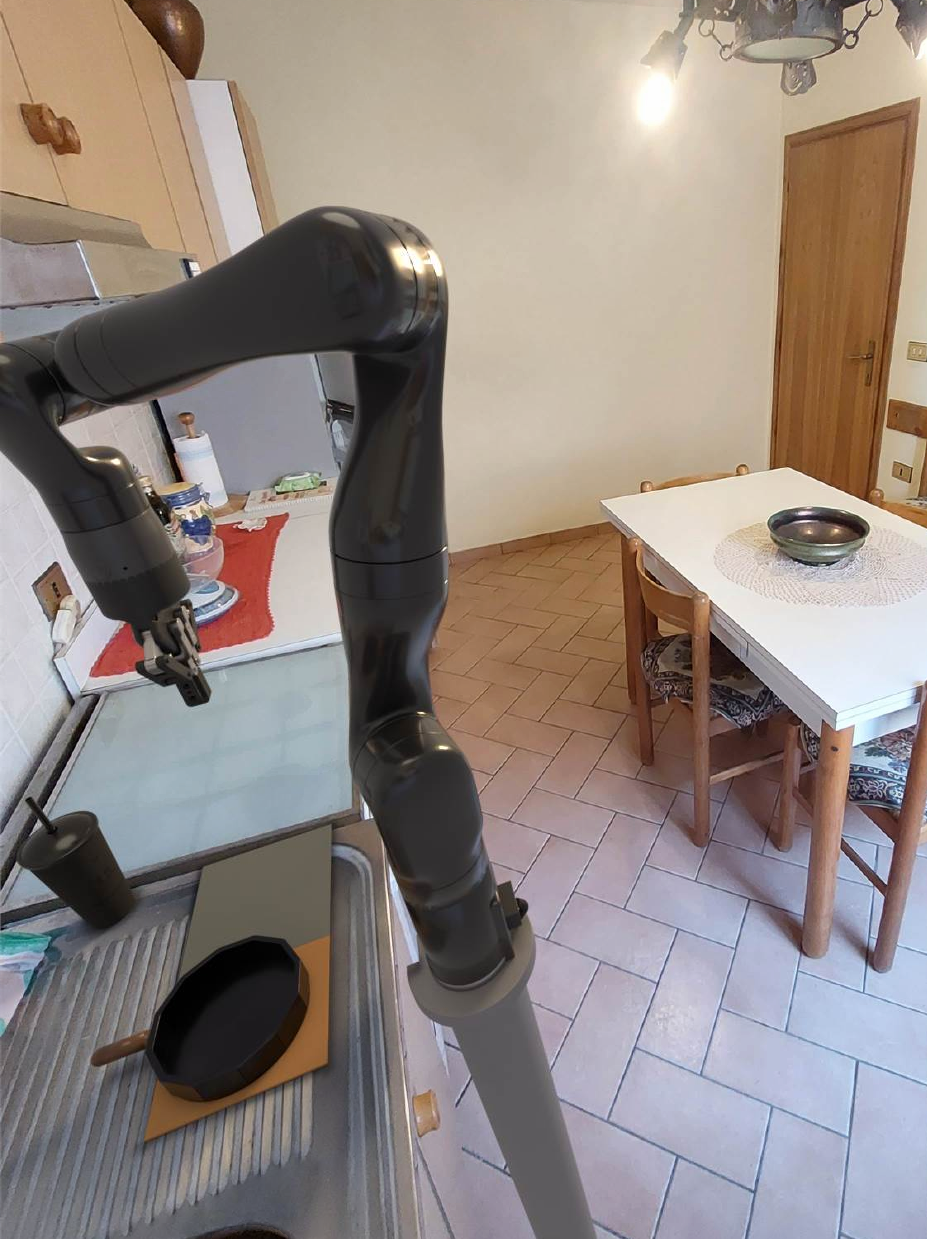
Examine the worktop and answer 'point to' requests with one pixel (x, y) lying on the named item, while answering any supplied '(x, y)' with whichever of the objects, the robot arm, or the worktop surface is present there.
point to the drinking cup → (77, 866)
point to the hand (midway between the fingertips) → (200, 700)
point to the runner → (274, 907)
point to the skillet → (223, 1020)
